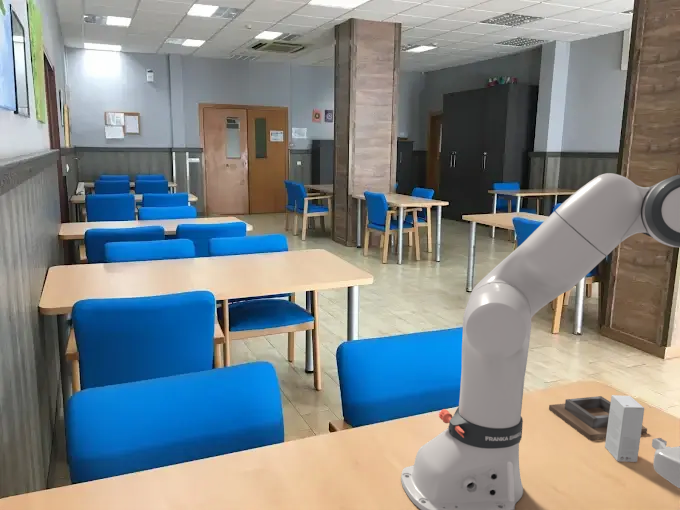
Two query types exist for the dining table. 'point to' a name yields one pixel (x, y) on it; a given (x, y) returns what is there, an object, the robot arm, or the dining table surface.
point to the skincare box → (624, 428)
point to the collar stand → (586, 416)
